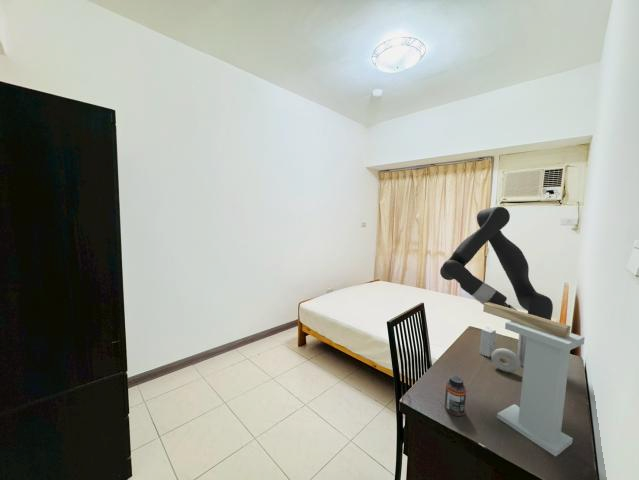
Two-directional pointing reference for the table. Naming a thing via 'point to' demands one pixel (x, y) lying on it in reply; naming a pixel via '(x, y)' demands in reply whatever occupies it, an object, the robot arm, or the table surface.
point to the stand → (542, 388)
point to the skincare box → (487, 341)
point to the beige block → (528, 320)
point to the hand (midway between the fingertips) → (532, 327)
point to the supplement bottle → (455, 396)
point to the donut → (509, 354)
